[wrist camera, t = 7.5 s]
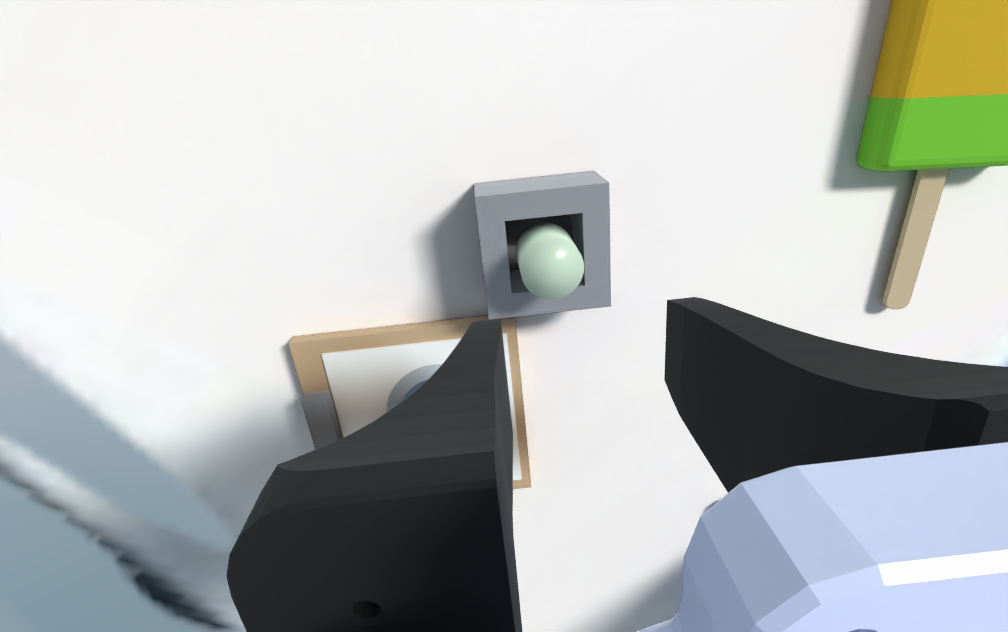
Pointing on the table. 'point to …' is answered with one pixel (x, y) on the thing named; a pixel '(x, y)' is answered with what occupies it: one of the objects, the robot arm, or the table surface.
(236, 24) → the table surface
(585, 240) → the button housing
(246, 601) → the robot arm
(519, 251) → the button
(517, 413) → the clipboard
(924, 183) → the popsicle
